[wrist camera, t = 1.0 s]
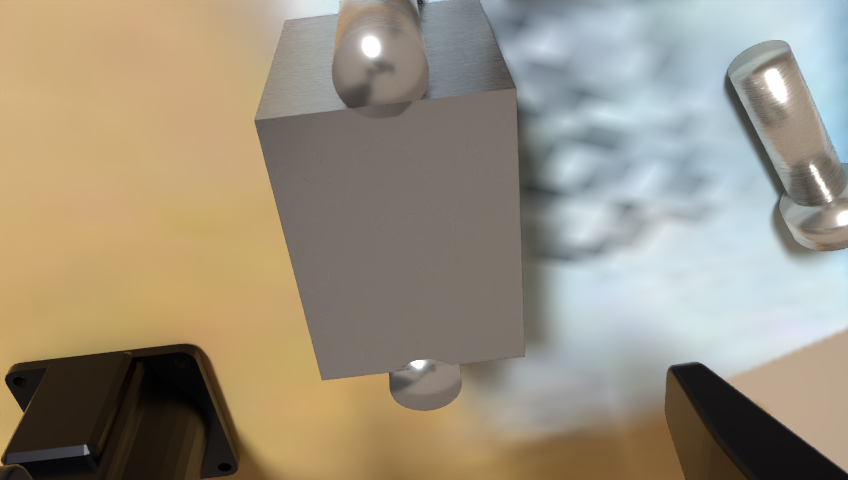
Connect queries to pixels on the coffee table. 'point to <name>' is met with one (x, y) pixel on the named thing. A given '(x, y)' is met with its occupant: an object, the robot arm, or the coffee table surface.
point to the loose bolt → (795, 144)
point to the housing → (398, 191)
